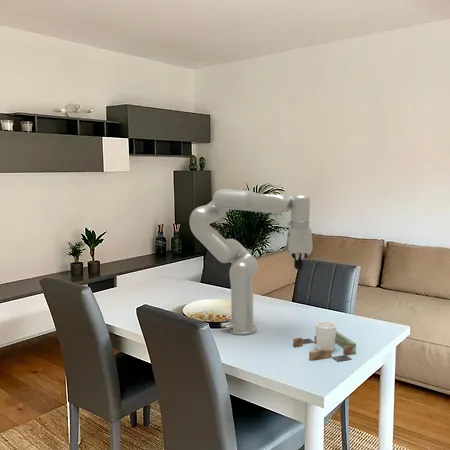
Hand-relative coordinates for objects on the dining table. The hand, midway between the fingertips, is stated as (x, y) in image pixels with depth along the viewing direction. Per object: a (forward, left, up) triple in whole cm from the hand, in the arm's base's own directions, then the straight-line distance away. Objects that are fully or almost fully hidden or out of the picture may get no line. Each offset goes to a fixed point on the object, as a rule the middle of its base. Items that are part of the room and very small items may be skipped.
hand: (298, 268), depth 191 cm
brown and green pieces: (+2, -17, -29) cm, 33 cm away
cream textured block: (+4, -16, -29) cm, 34 cm away
